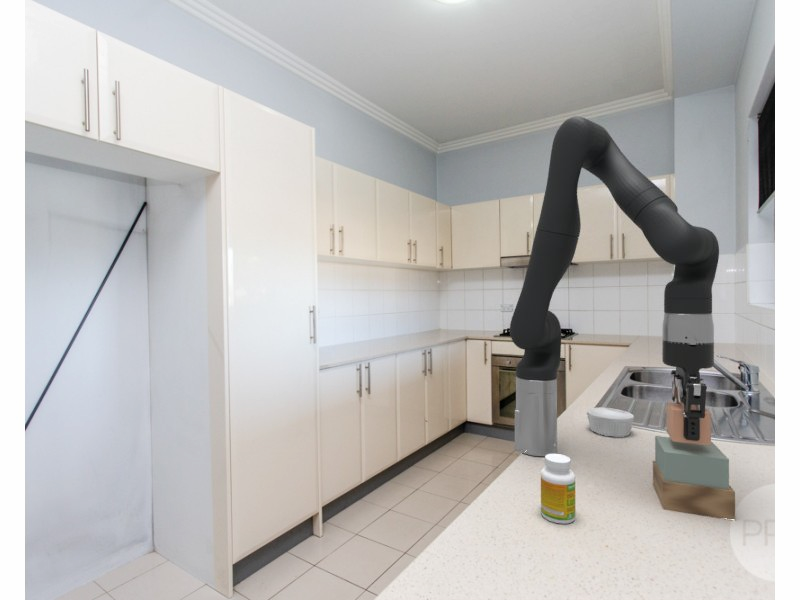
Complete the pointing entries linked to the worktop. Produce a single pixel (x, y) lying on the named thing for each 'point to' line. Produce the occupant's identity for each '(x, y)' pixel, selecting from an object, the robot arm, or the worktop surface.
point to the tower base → (694, 498)
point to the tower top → (692, 463)
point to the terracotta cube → (677, 425)
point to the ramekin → (610, 421)
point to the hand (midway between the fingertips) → (687, 434)
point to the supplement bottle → (558, 489)
